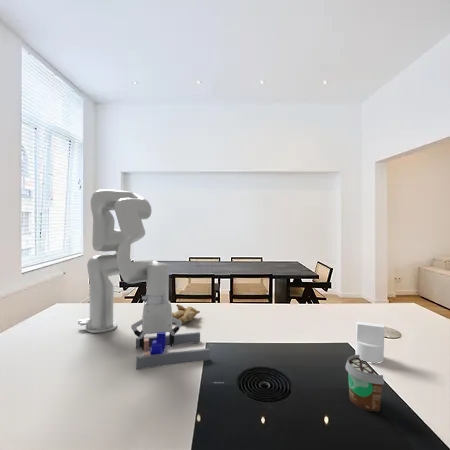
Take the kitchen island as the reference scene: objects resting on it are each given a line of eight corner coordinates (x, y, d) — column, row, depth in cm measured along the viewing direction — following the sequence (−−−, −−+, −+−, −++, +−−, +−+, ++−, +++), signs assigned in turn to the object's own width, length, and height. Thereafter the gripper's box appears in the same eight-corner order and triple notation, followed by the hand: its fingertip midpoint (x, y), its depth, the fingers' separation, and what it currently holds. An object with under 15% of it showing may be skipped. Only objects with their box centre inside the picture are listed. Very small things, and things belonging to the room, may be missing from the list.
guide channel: (136, 369, 95) (136, 358, 95) (135, 347, 111) (135, 338, 111) (209, 359, 102) (209, 349, 102) (199, 340, 118) (199, 332, 118)
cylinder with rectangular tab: (381, 354, 109) (382, 321, 109) (385, 366, 101) (386, 330, 100) (354, 350, 112) (355, 318, 112) (356, 361, 104) (357, 326, 103)
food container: (336, 388, 87) (337, 354, 86) (357, 387, 87) (358, 353, 87) (359, 416, 74) (360, 376, 74) (383, 415, 75) (384, 376, 75)
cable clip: (153, 348, 111) (153, 332, 111) (165, 348, 112) (165, 332, 111) (146, 364, 99) (146, 346, 99) (160, 363, 100) (160, 346, 99)
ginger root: (208, 316, 144) (205, 300, 142) (187, 334, 131) (184, 317, 130) (183, 311, 153) (180, 296, 151) (161, 327, 140) (158, 312, 138)
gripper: (131, 303, 99) (130, 354, 99) (183, 300, 104) (183, 349, 104) (131, 297, 106) (131, 345, 106) (180, 294, 111) (179, 340, 111)
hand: (156, 347), depth 105 cm, fingers open, 9 cm apart
